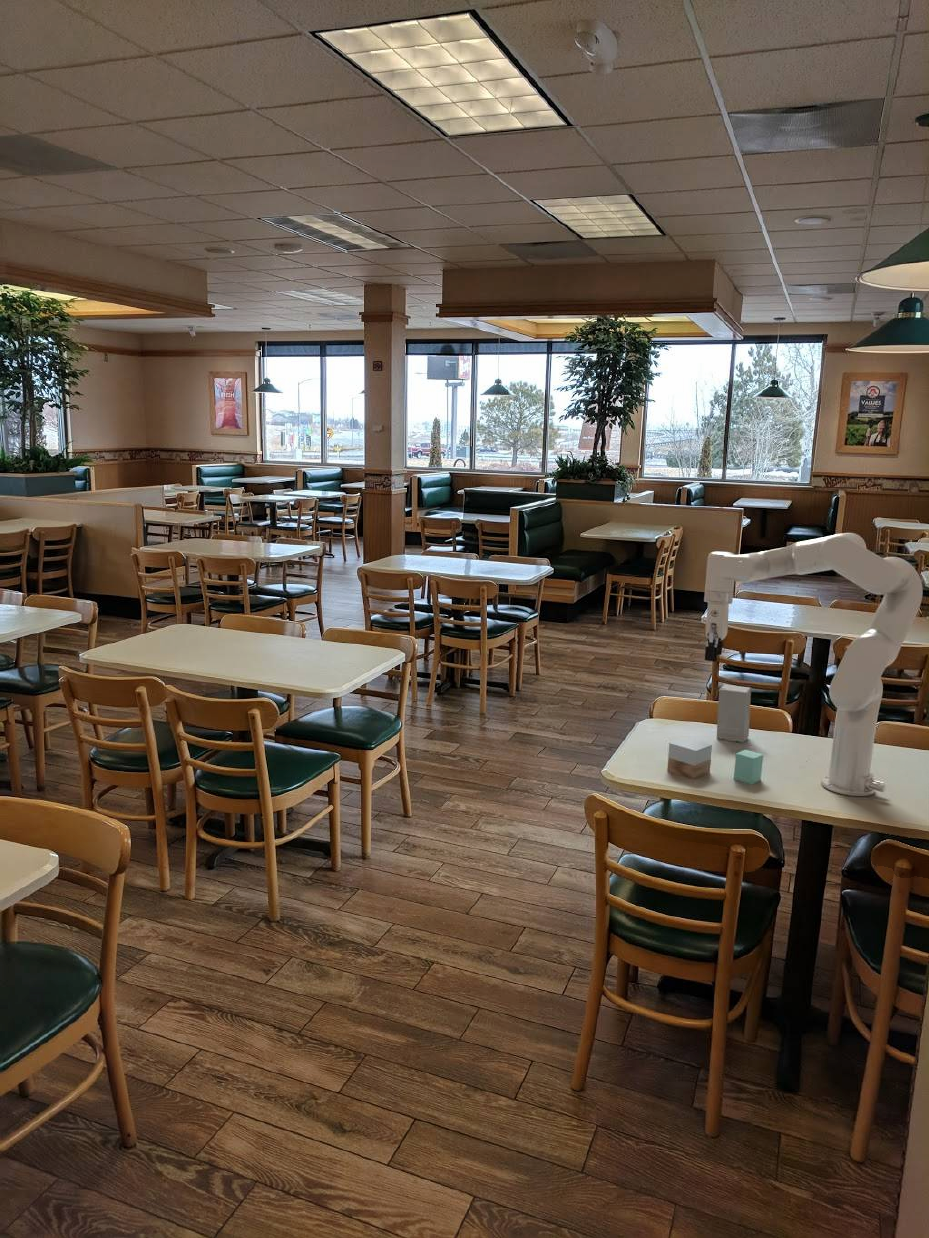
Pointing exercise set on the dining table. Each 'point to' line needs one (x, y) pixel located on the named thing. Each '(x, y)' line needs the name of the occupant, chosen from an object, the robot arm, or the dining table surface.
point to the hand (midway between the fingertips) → (713, 657)
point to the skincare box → (733, 713)
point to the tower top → (690, 751)
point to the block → (748, 766)
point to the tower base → (688, 768)
